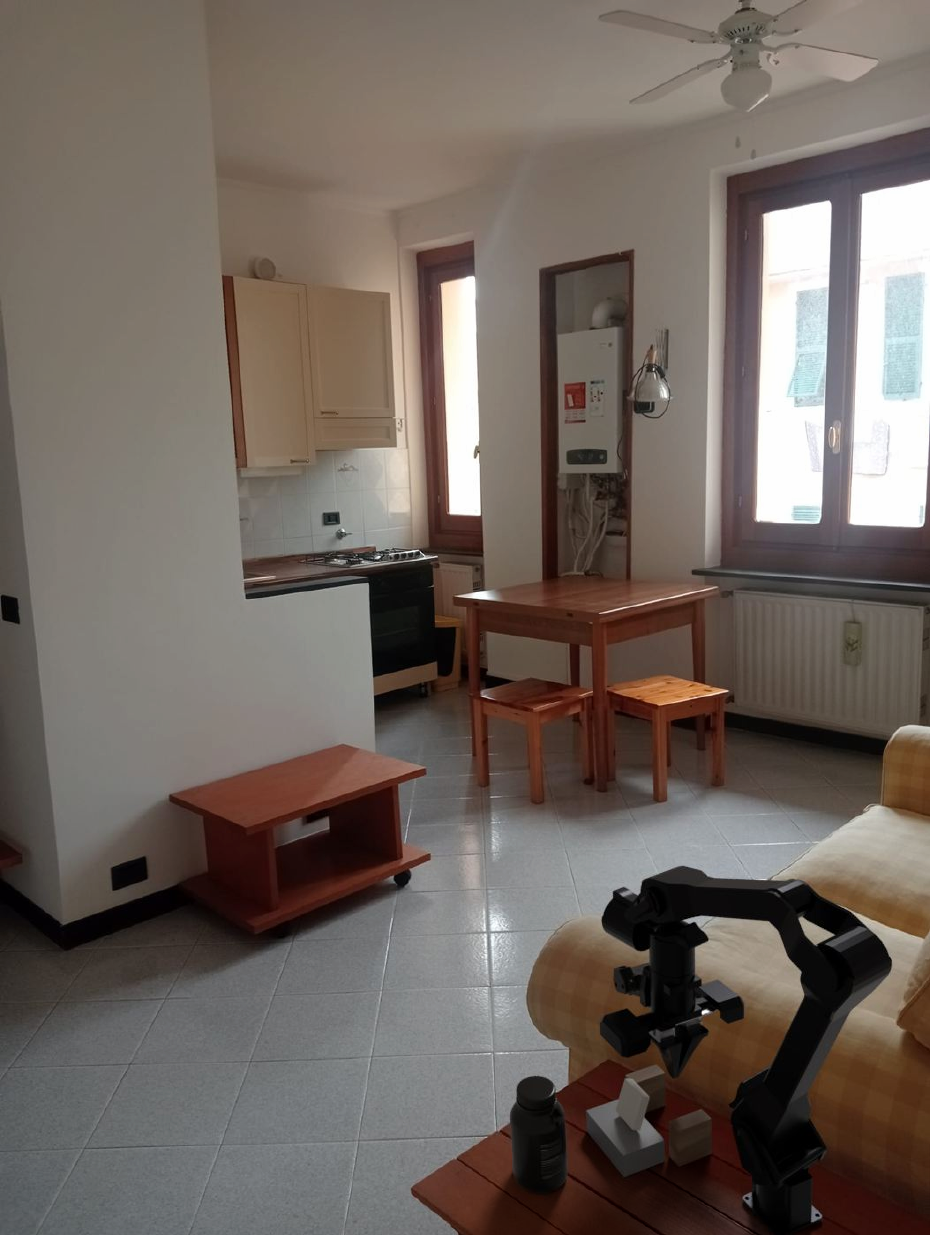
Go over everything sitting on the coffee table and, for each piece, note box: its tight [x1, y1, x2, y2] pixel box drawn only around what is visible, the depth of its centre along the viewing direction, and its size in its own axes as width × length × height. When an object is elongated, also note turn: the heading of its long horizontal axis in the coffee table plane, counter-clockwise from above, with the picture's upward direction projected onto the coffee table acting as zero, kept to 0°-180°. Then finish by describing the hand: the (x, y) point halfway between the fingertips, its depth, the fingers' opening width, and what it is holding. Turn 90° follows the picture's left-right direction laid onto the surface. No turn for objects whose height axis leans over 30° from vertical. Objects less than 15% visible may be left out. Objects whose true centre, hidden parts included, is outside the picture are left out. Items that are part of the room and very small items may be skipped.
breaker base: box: [585, 1098, 666, 1178], centre depth 122 cm, size 9×6×3 cm, turn 23°
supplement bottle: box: [509, 1075, 569, 1194], centre depth 117 cm, size 7×7×12 cm
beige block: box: [668, 1108, 713, 1167], centre depth 119 cm, size 2×5×5 cm, turn 113°
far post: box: [624, 1064, 666, 1114], centre depth 129 cm, size 2×5×5 cm, turn 113°
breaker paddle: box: [616, 1078, 650, 1130], centre depth 121 cm, size 4×1×4 cm, turn 23°
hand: (673, 1076), depth 123 cm, fingers closed
